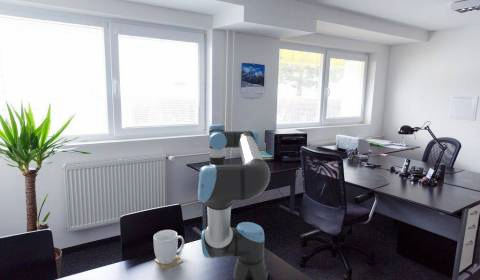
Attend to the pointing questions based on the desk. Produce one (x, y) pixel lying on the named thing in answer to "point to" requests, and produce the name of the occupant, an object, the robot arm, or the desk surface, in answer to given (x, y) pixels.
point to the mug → (166, 246)
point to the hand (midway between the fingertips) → (218, 197)
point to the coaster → (166, 266)
